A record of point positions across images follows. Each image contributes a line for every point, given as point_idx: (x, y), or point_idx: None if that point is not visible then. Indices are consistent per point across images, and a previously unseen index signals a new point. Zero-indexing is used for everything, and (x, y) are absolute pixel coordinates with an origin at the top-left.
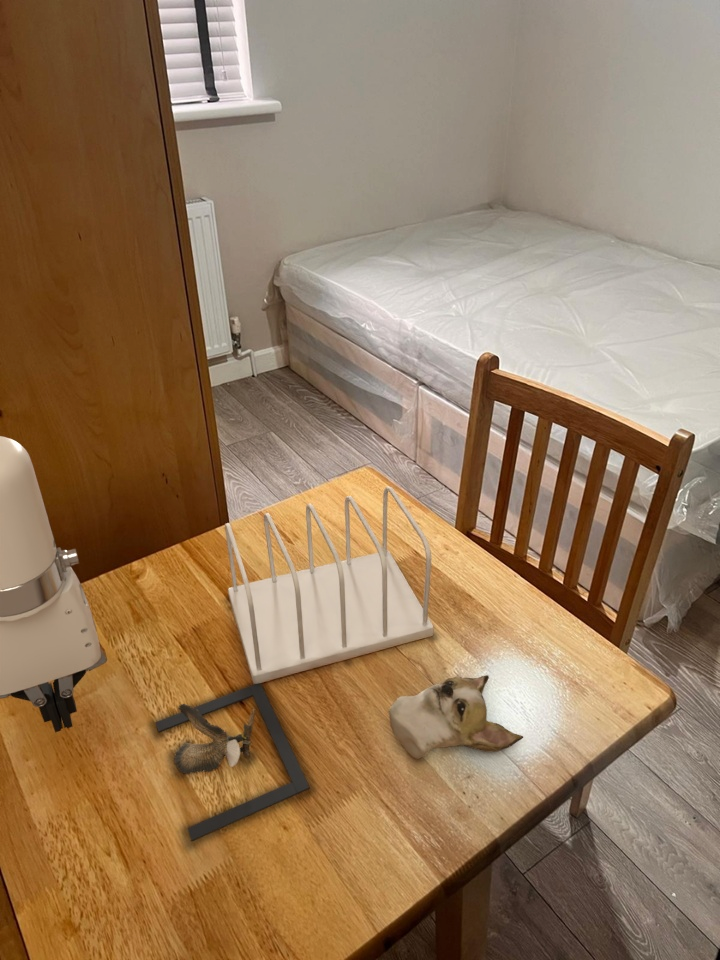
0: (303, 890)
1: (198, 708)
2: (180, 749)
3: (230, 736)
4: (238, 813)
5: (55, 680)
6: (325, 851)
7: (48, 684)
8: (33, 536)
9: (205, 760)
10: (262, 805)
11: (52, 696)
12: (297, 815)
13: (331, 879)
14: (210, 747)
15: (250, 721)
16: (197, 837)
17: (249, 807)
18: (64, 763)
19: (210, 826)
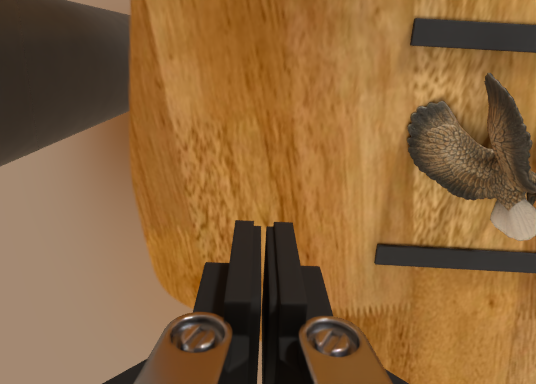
0: (462, 373)
1: (503, 31)
2: (429, 108)
3: (530, 177)
4: (450, 261)
5: (288, 373)
6: (513, 350)
7: (249, 323)
8: None
9: (461, 182)
10: (486, 267)
11: (254, 380)
12: (515, 296)
13: (496, 378)
14: (484, 171)
15: None
16: (384, 264)
17: (468, 260)
18: (232, 19)
19: (407, 259)
